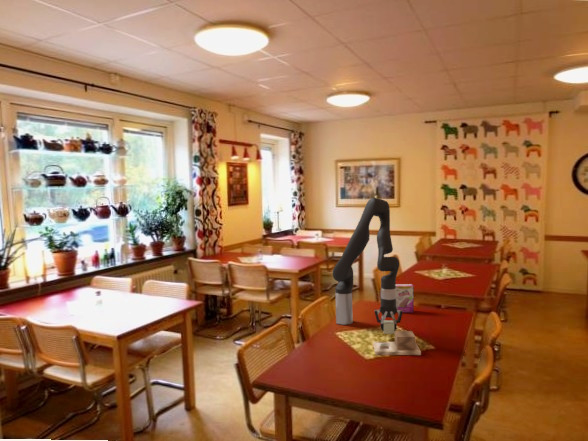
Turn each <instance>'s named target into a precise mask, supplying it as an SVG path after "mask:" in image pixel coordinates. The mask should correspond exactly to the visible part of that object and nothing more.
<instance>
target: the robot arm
mask: <svg viewBox="0 0 588 441" xmlns="http://www.w3.org/2000/svg"><path fill="white" fill-rule="evenodd" d="M390 209H391V208H390V204H389V202H388V201H386V200H384V199H381V198H377V197H371V198H369V199H368V201H367V202H366V204H365V207H364V209H363V211H362V214H361V216H360V219H359V221H358V223H357V226H356V227H355V229H354V231H353V233H352V235H351V237H350V238H349V240H348V243H347V244H346V247H345V248H344V251H343V253H342V254H341V256H340V257H339V259H338V261H337V263H336V265H335V266H334V267H333V270H332V277H333V279H334V280H335V281H337V284H336V286H335V288H334V289H335V292H334V293H335V323H336V324H337V325H343V326H344V325H345V326H346V325H352V324H353V322H354V321H353V319H354V318H353V287H354V270H353V267H352V265H353V263H354V262H355V261H356V260H357V259H358V258H359V256H360V255H361V254H362V253H363V252H364V250H365V248H366V247H367V245H368V244H369V240H370V224H371V221H372V220H373V218H374V217H378V218H379V222H380V225H379V229H378V232H377V235H376V243H377V249H378V252H377V253H378V254H377V255H378V256H377V262H376V265H377V266H376V267H377V269H378V271H379V272H389V273H388V274H386V275H383V276H381V279H380V307H379V309H374V315H375V318H376V322H377V323H379V324H380V330H381V331H382V332H383V331H384V324H383V322H384V320H386V319H387V318H390V319H391V320H392V321H393V322H394V332H395V331H397V328H398V327H397V324H399V323H401V322H402V318H403V312H402V310H397V308H396V281H397V280H396V279H397V275H398V271H399V268H400V260H399V258H398V257H397V256H385V255H389V254H391V253H392V252H393V250H394V248H393V244H392V243H393V242H392V236H391V228H390V227H391V217H390V215H391V210H390ZM379 314H381V318H379ZM395 315H397V319H396V317H395Z"/></svg>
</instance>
